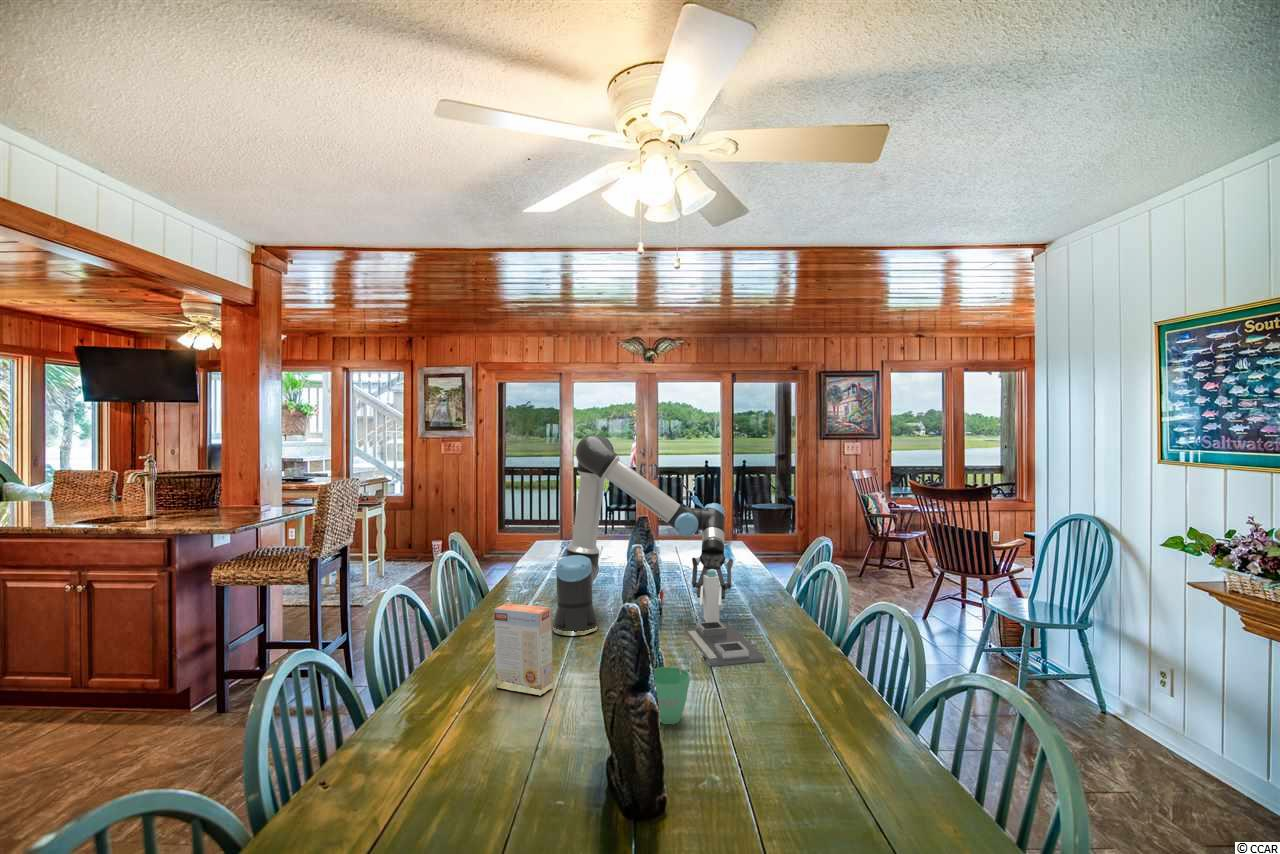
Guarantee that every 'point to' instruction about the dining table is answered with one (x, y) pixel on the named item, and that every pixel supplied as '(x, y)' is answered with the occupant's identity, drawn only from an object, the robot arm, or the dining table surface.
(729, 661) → the panel
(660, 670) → the green cup
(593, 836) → the dining table surface
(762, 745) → the dining table surface
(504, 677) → the cracker box
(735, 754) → the dining table surface
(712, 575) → the plug
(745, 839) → the dining table surface
